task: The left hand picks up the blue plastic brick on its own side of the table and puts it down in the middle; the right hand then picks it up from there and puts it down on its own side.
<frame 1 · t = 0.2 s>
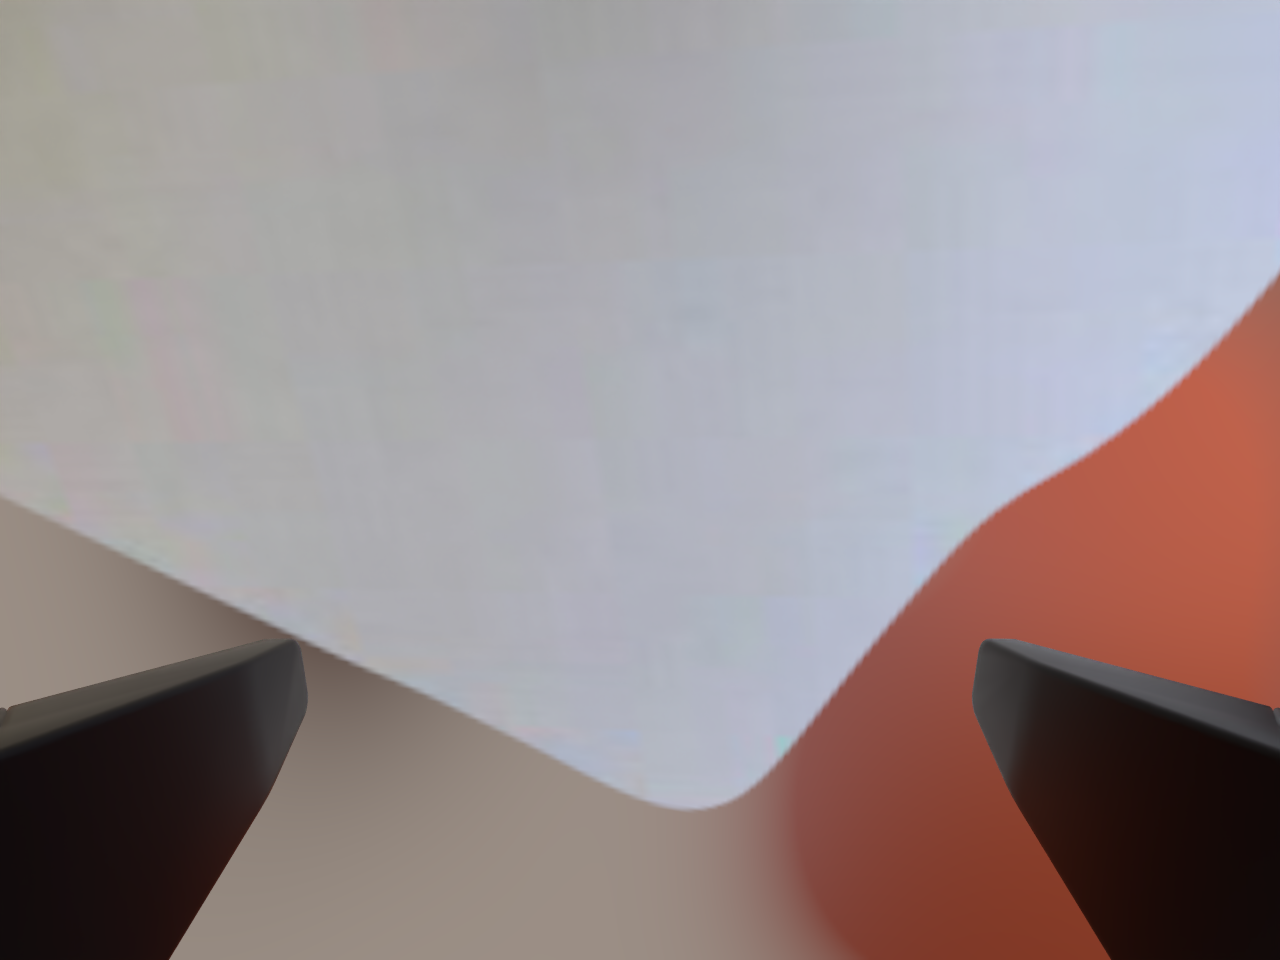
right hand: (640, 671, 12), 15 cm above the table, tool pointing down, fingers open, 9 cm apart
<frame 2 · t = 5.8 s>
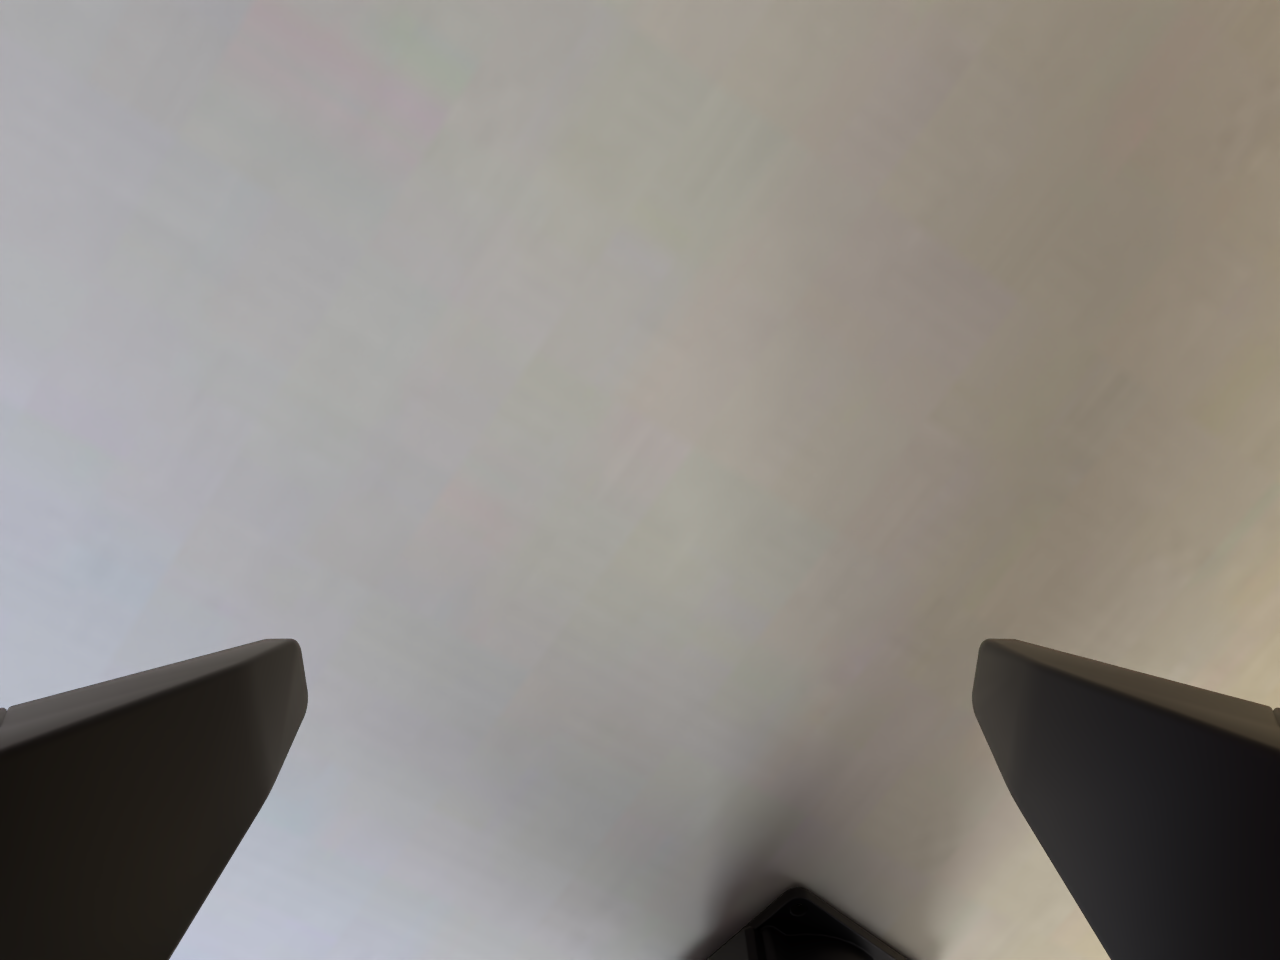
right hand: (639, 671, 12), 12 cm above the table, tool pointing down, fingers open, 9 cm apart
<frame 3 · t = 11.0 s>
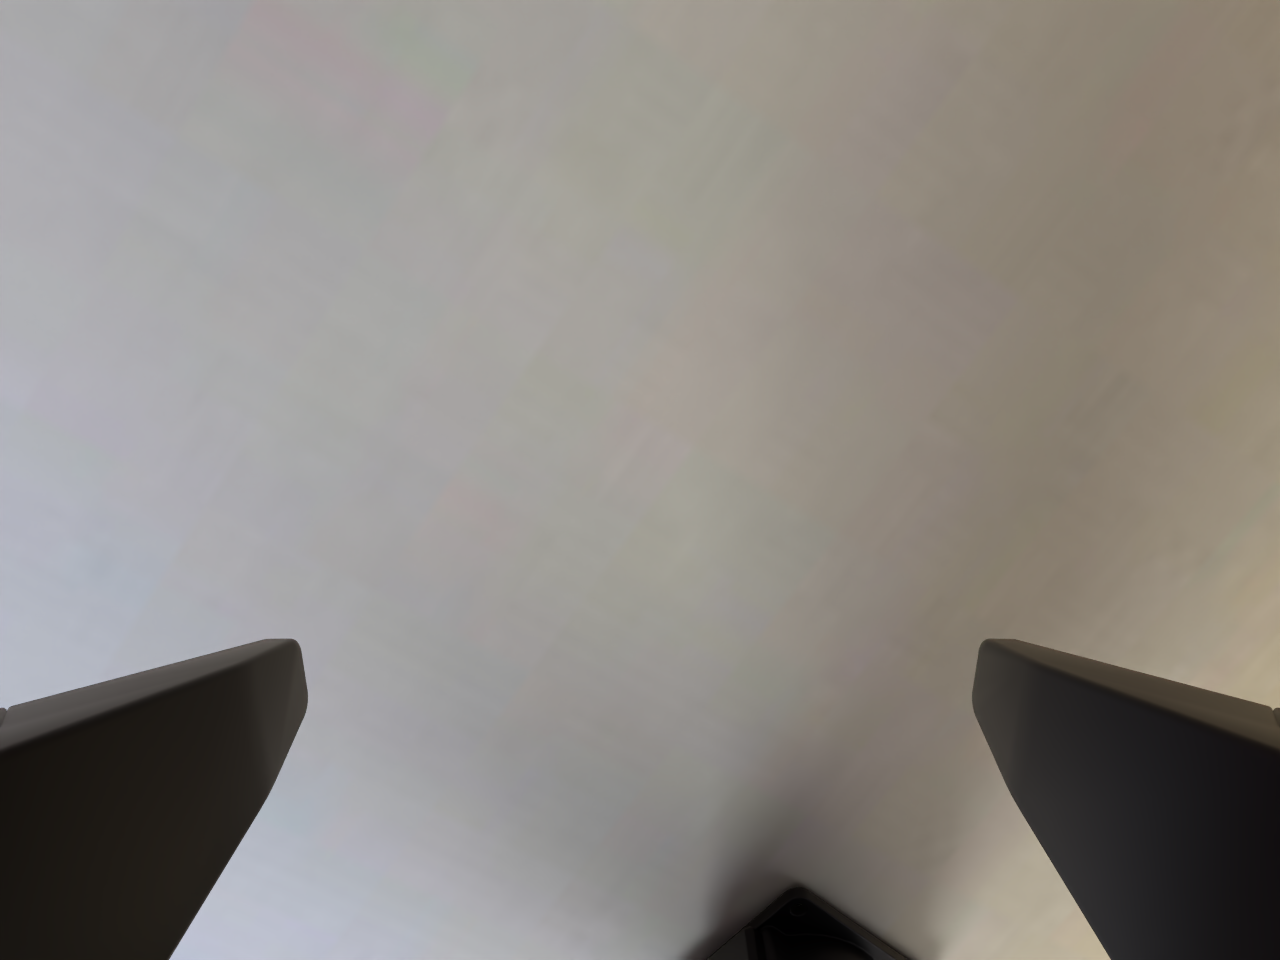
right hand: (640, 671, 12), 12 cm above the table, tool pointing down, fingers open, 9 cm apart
when the left hand's fingers open (2 cm above the table, at t = 16.6 s): brick stays where it is, on the table.
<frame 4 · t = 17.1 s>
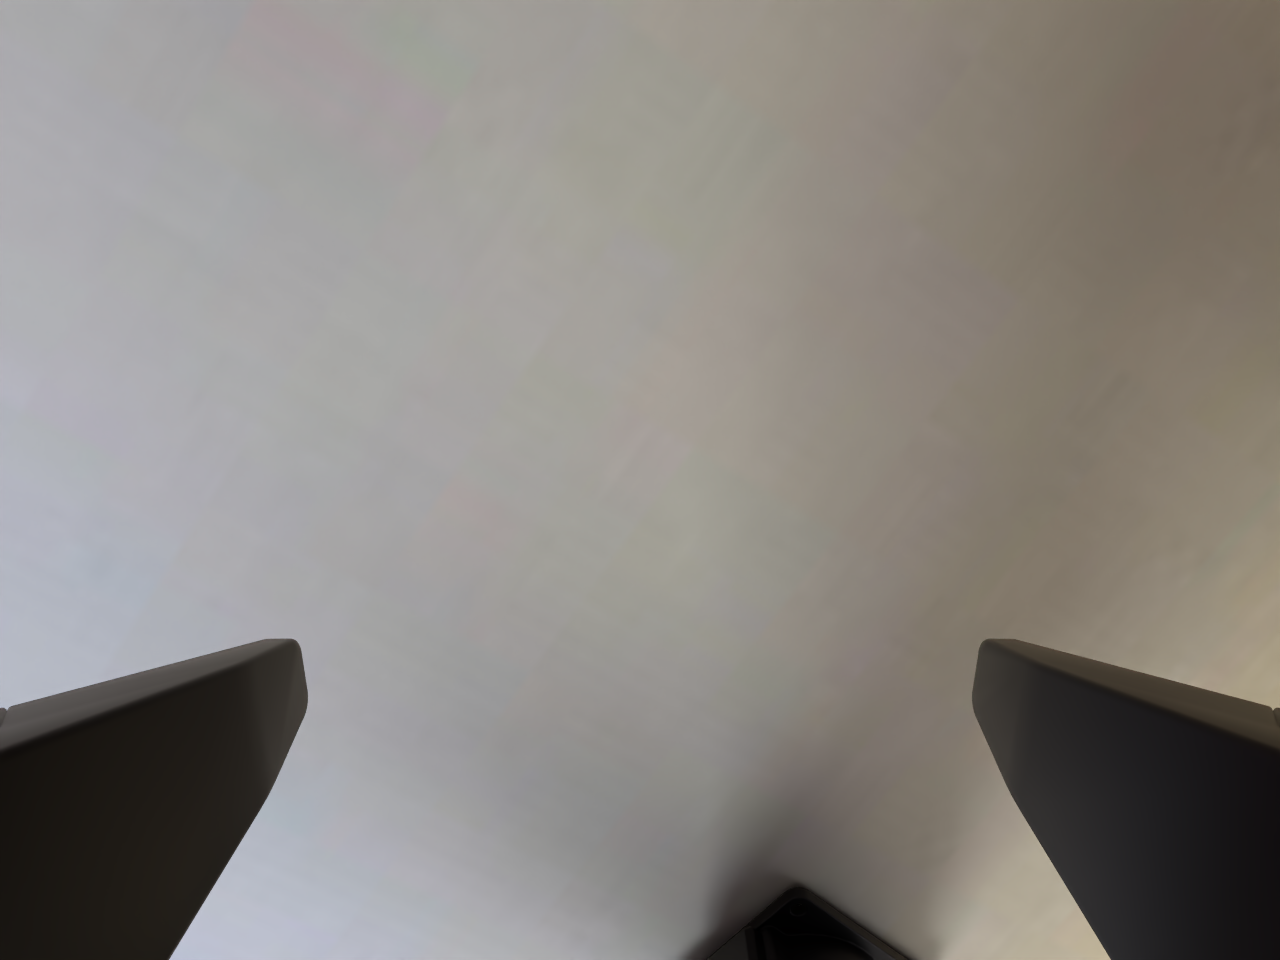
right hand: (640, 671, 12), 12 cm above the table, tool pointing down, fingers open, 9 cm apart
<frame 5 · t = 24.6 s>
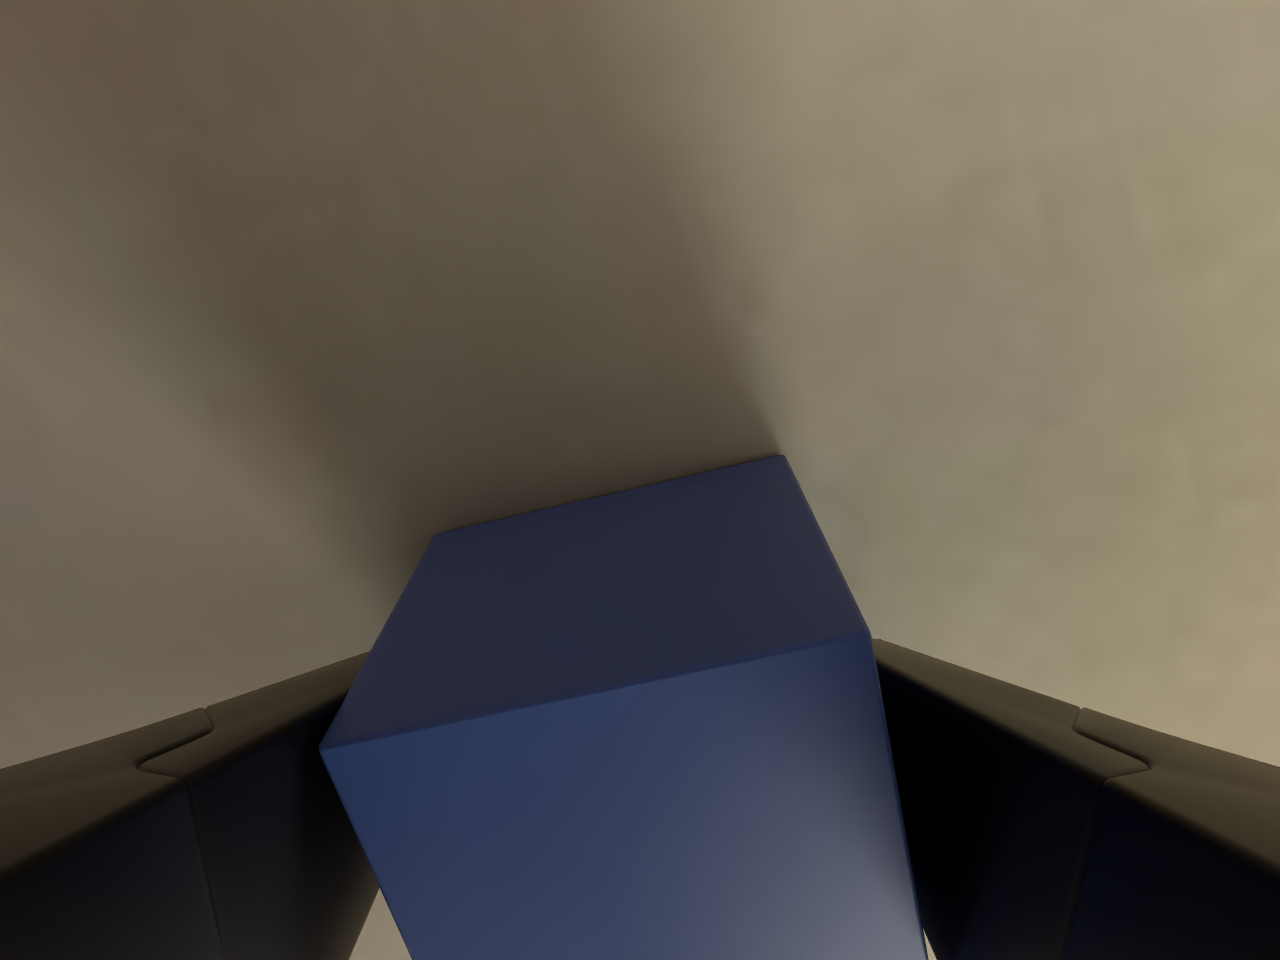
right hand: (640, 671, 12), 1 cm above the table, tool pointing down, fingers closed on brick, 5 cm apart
brick: (643, 627, 12), on the table, touching right hand
when the right hand's fingers open (2 cm above the table, at t = 33.1 s): brick stays where it is, on the table.
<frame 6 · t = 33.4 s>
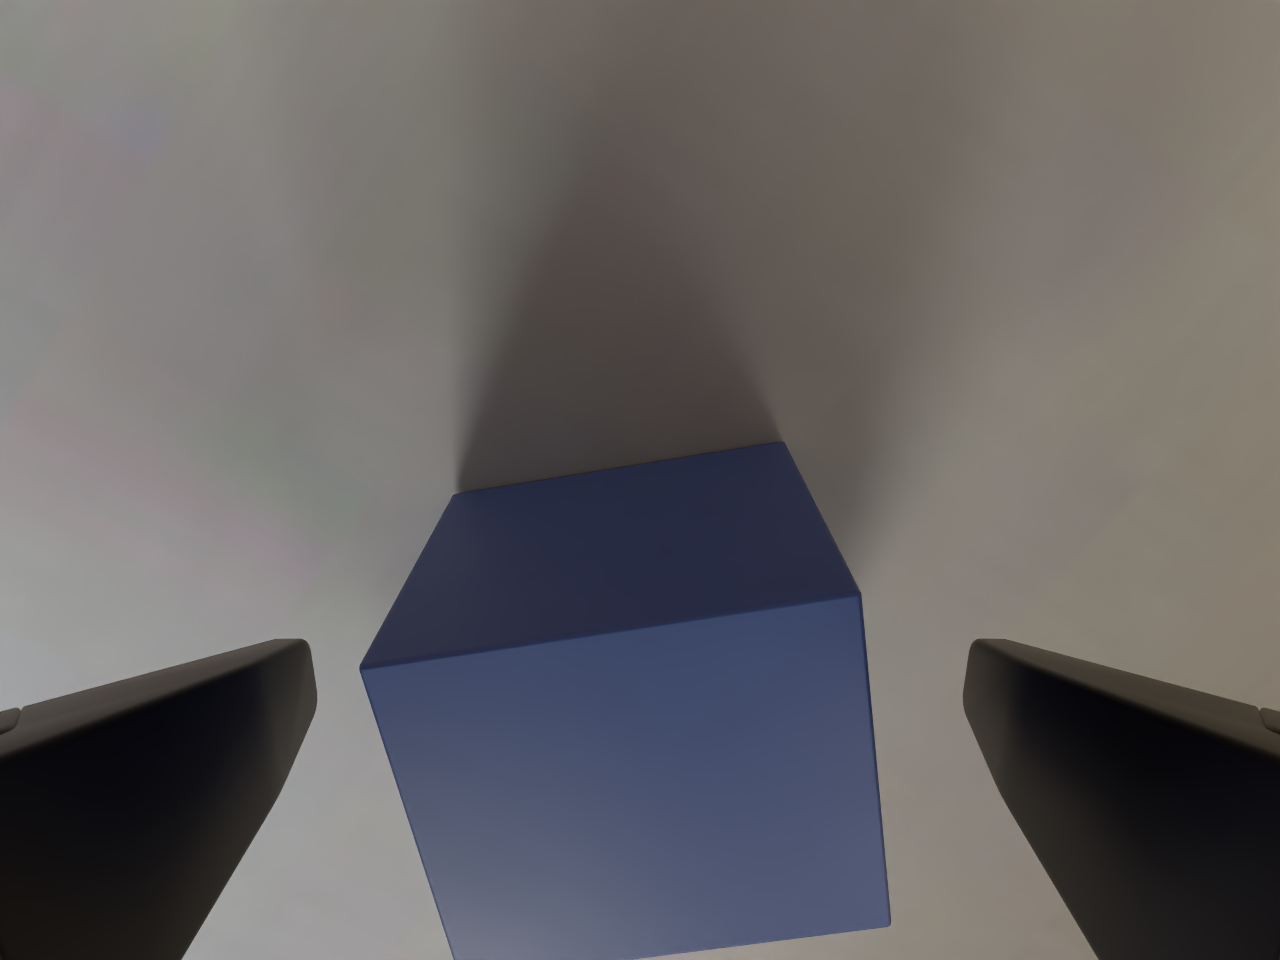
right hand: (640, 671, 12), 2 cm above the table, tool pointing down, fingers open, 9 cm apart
brick: (640, 594, 13), on the table
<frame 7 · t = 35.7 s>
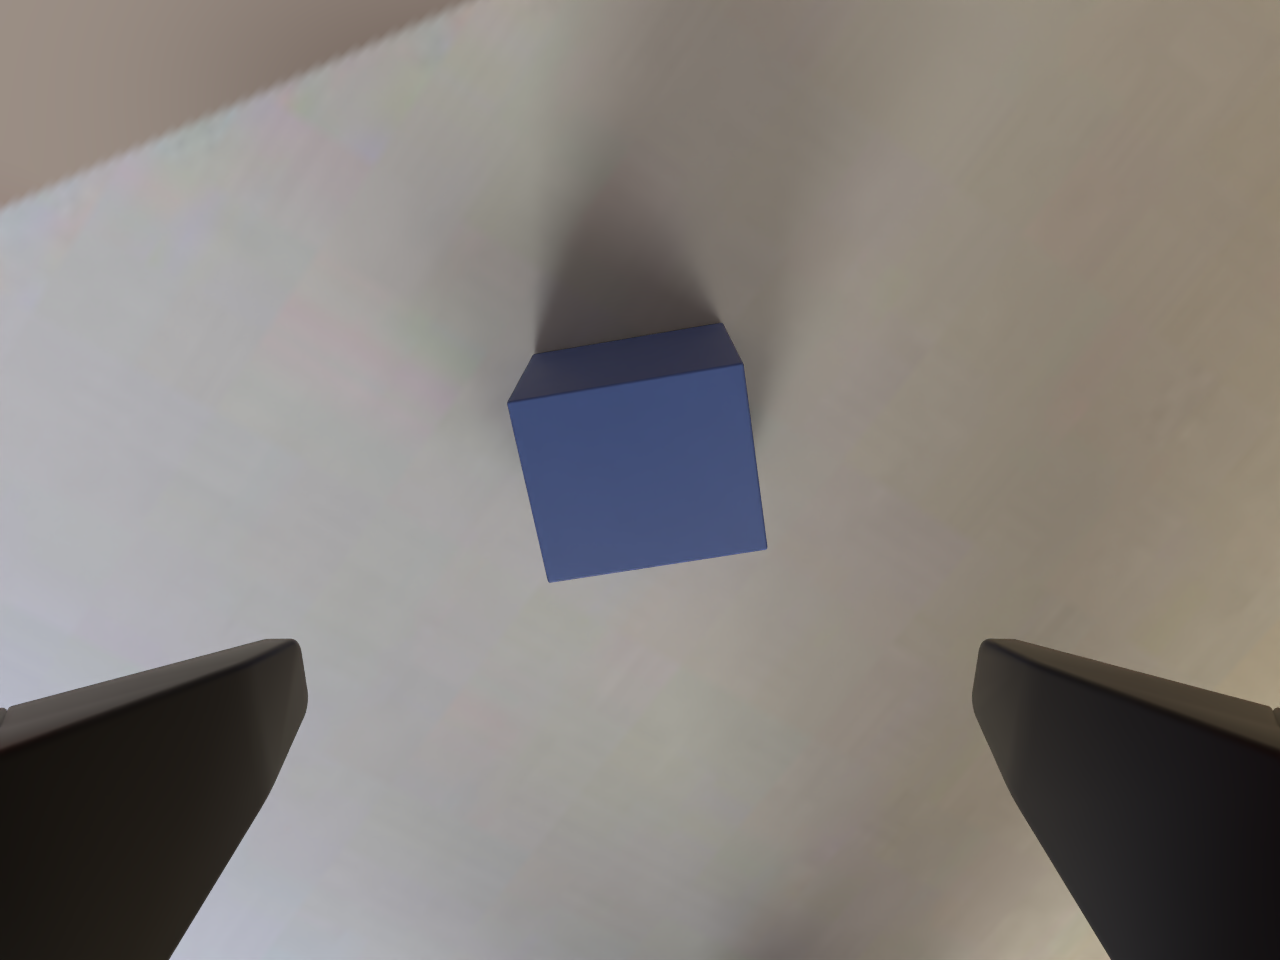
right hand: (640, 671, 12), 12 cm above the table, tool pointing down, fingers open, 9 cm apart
brick: (640, 417, 23), on the table
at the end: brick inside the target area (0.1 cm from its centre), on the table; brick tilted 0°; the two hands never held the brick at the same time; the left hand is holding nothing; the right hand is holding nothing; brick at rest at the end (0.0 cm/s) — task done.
